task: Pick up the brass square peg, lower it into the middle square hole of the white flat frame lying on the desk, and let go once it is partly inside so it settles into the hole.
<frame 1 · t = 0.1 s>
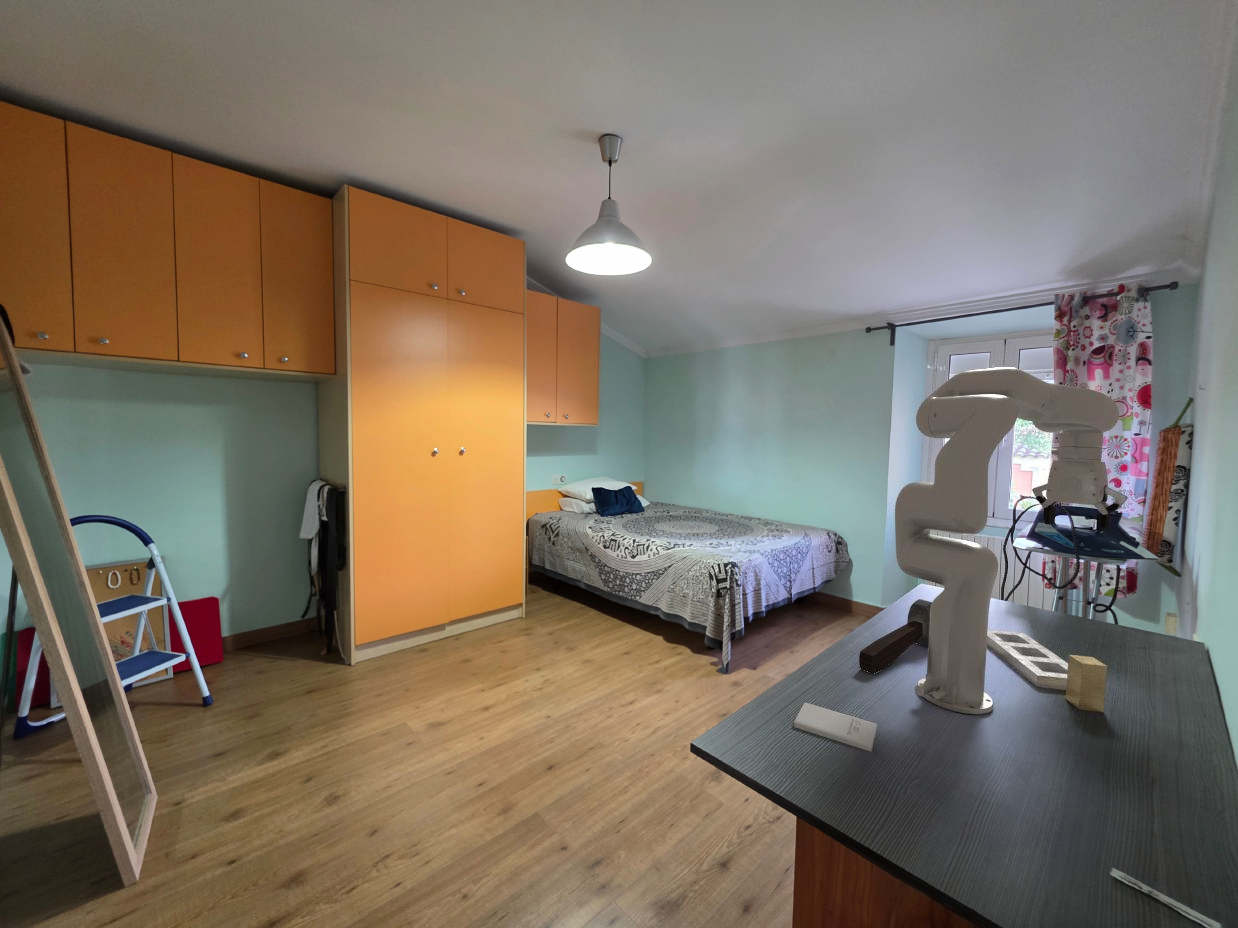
hand: (1074, 527, 119), 31 cm above the table, tool pointing down, fingers open, 9 cm apart
brass peg: (1084, 705, 98), on the table
hammer: (898, 658, 119), on the table
white flat frame: (1029, 662, 117), on the table
external hard drive: (835, 731, 89), on the table
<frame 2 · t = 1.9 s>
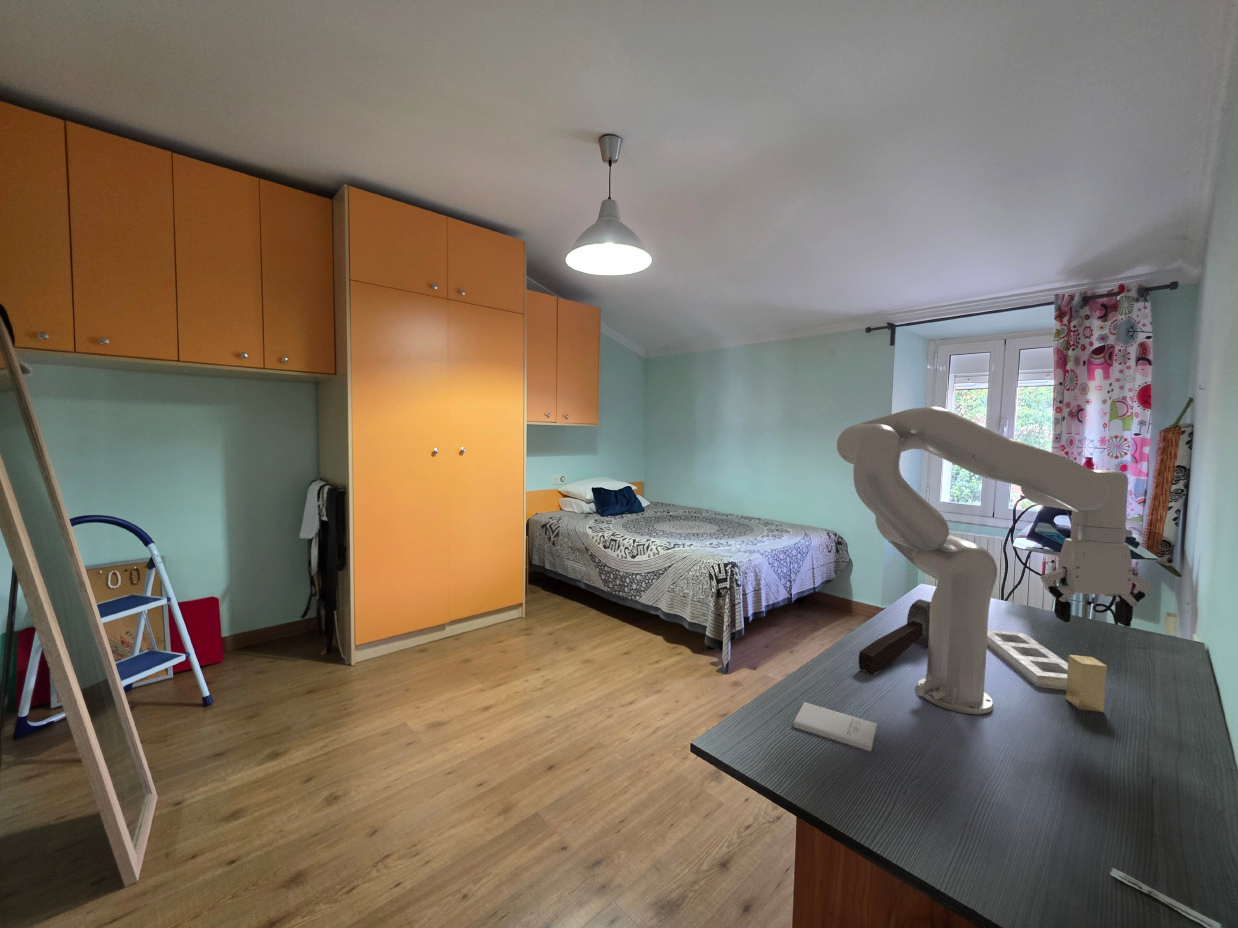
hand: (1092, 621, 97), 17 cm above the table, tool pointing down, fingers open, 9 cm apart
nothing on the table moved.
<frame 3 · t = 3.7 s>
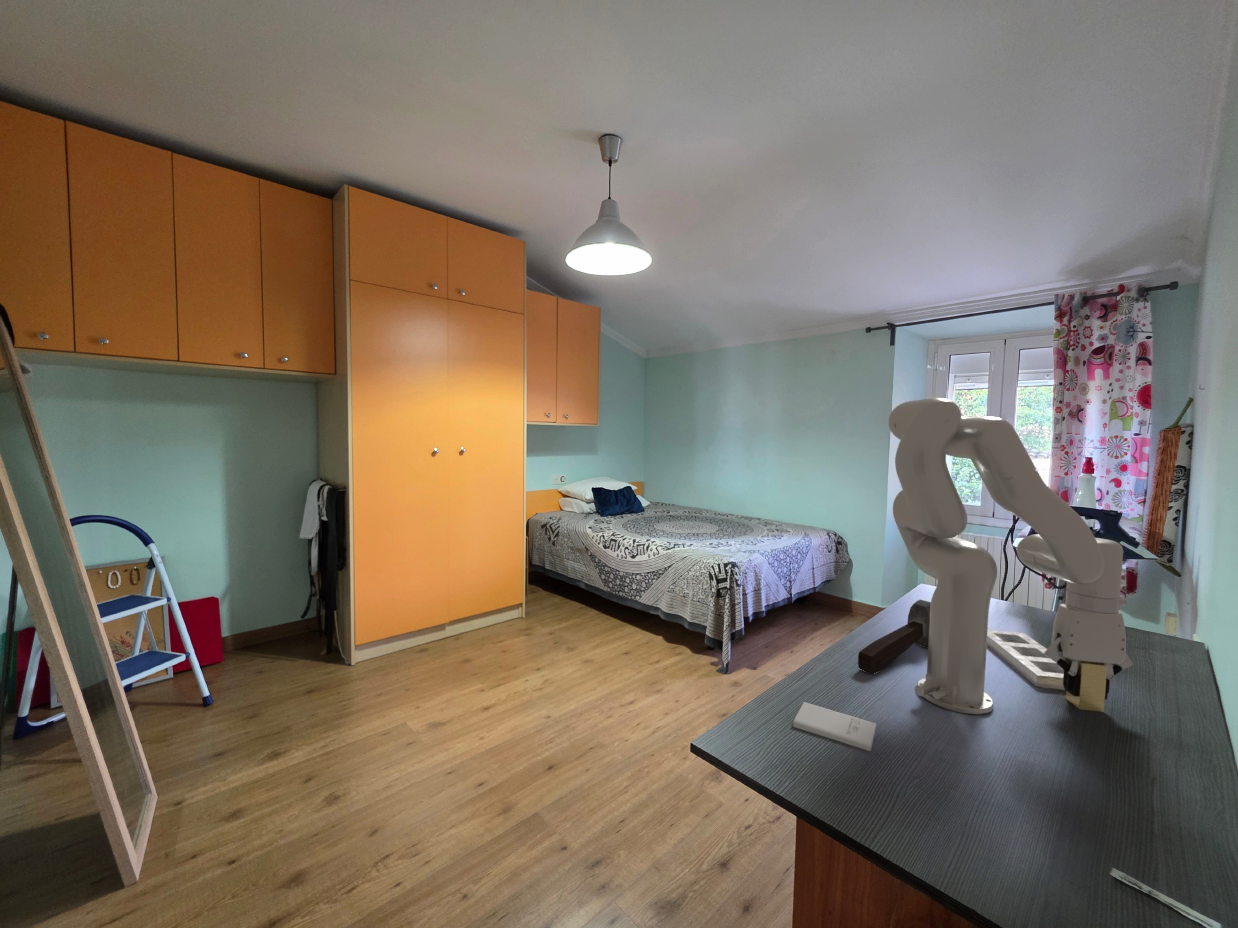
hand: (1085, 693, 98), 2 cm above the table, tool pointing down, fingers closed on brass peg, 4 cm apart
brass peg: (1084, 704, 98), on the table, touching gripper
everything else where it was.
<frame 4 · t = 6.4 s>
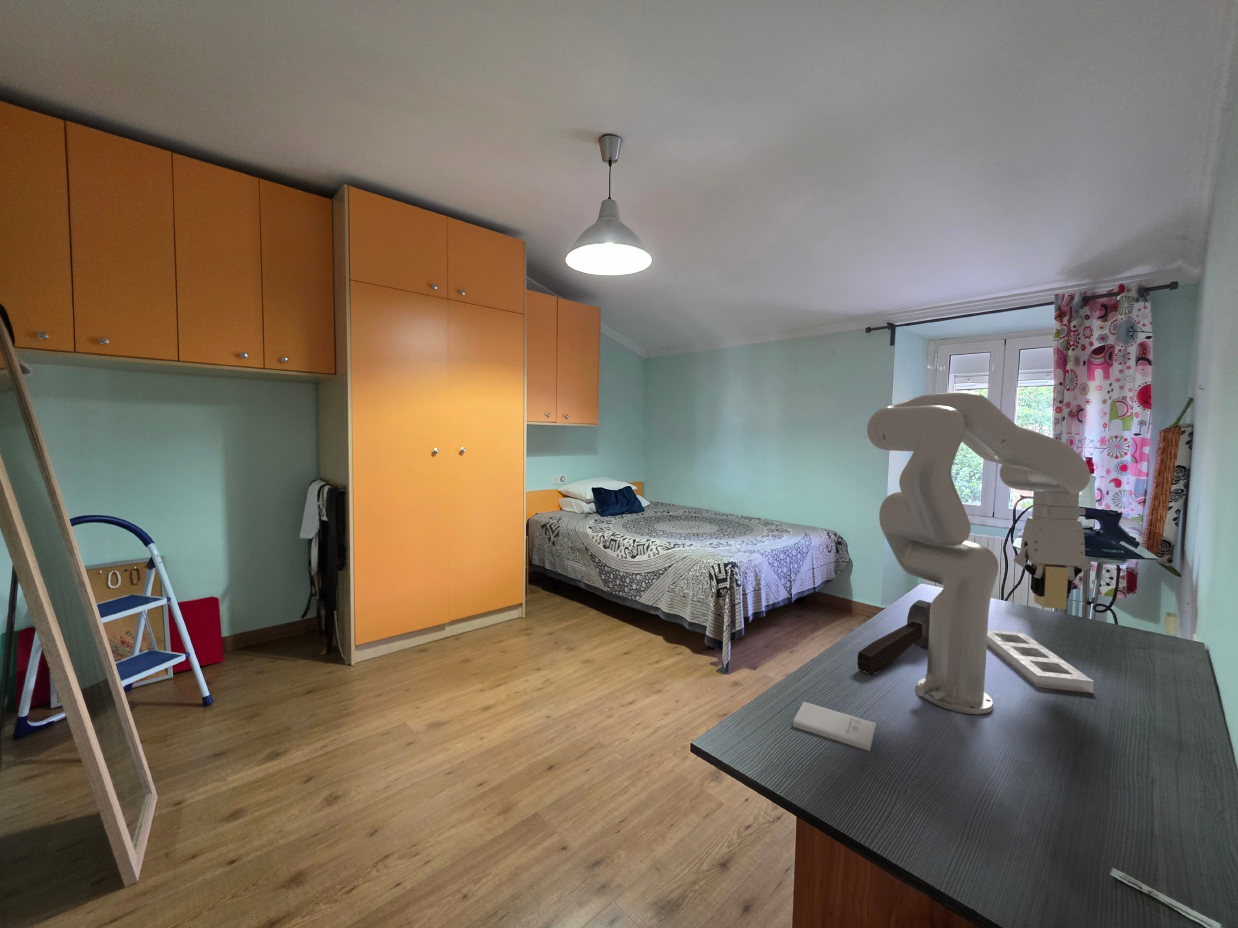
hand: (1050, 594, 111), 18 cm above the table, tool pointing down, fingers closed on brass peg, 4 cm apart
brass peg: (1049, 605, 111), point 15 cm above the table, touching gripper
everything else where it was.
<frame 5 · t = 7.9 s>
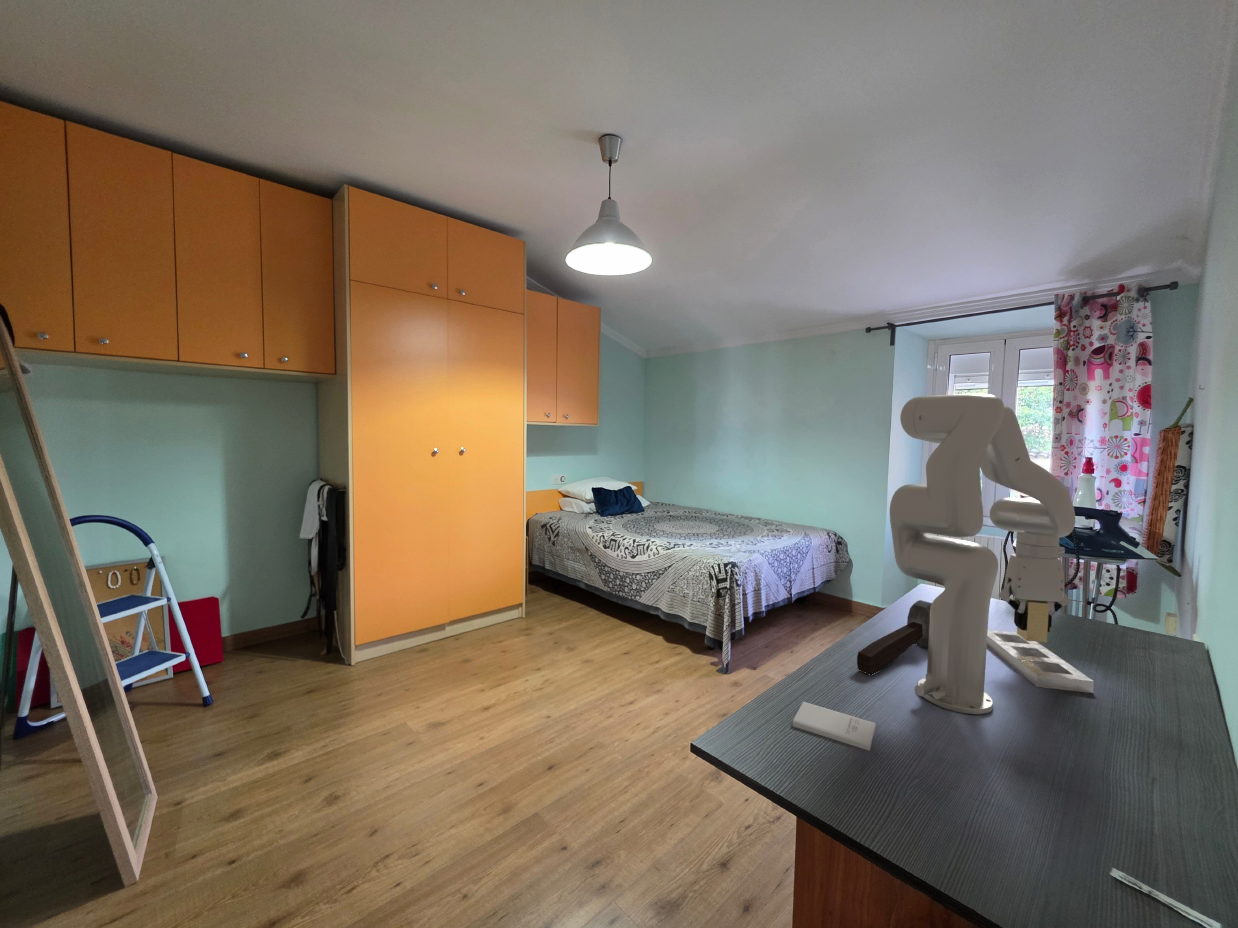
hand: (1032, 628, 117), 8 cm above the table, tool pointing down, fingers closed on brass peg, 4 cm apart
brass peg: (1031, 637, 117), point 6 cm above the table, touching gripper
everything else where it was.
when the fingers open (3 cm above the table, at t = 9.1 s): brass peg stays where it is, resting in white flat frame.
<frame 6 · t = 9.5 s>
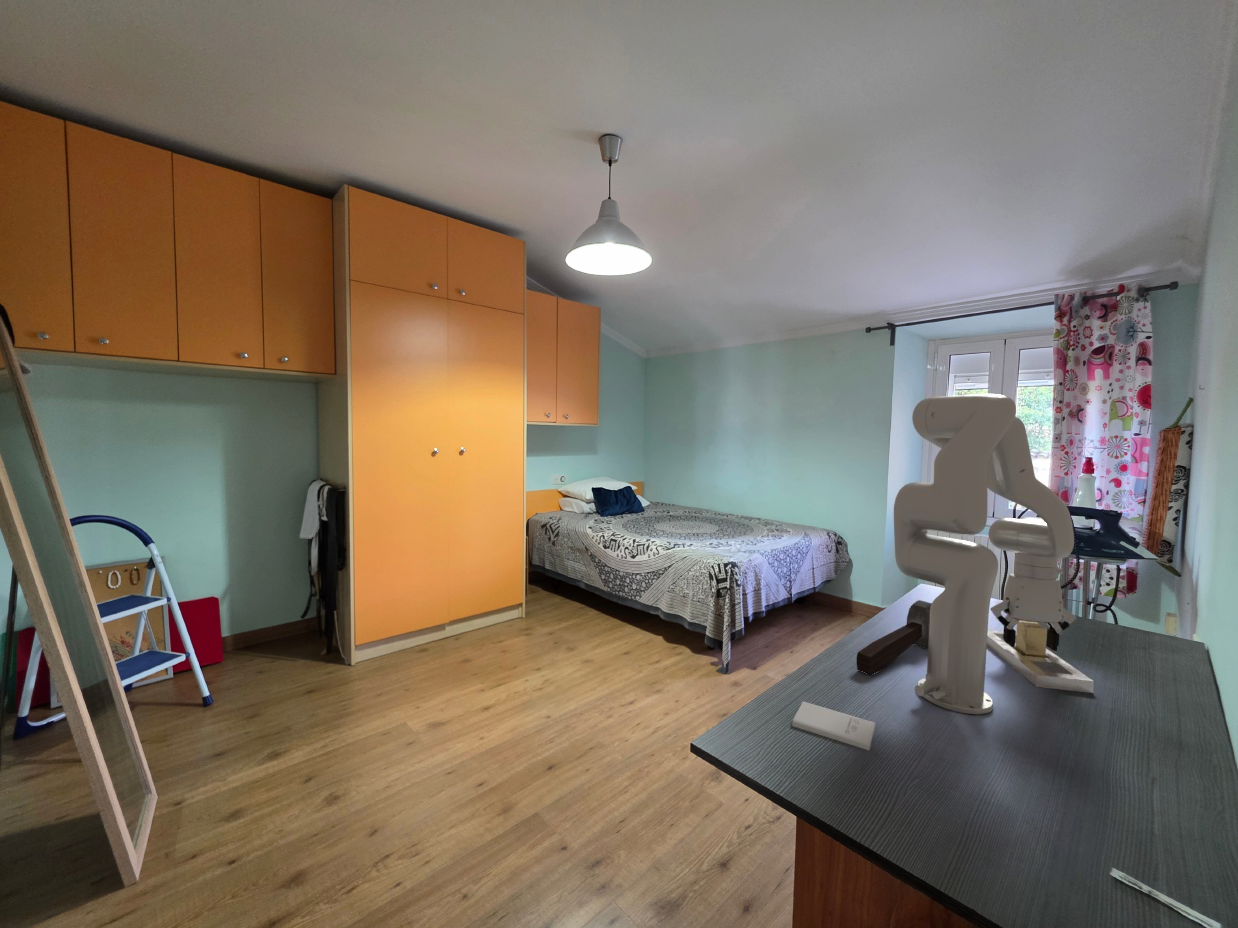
hand: (1030, 645, 117), 4 cm above the table, tool pointing down, fingers open, 7 cm apart
brass peg: (1029, 662, 117), resting in white flat frame
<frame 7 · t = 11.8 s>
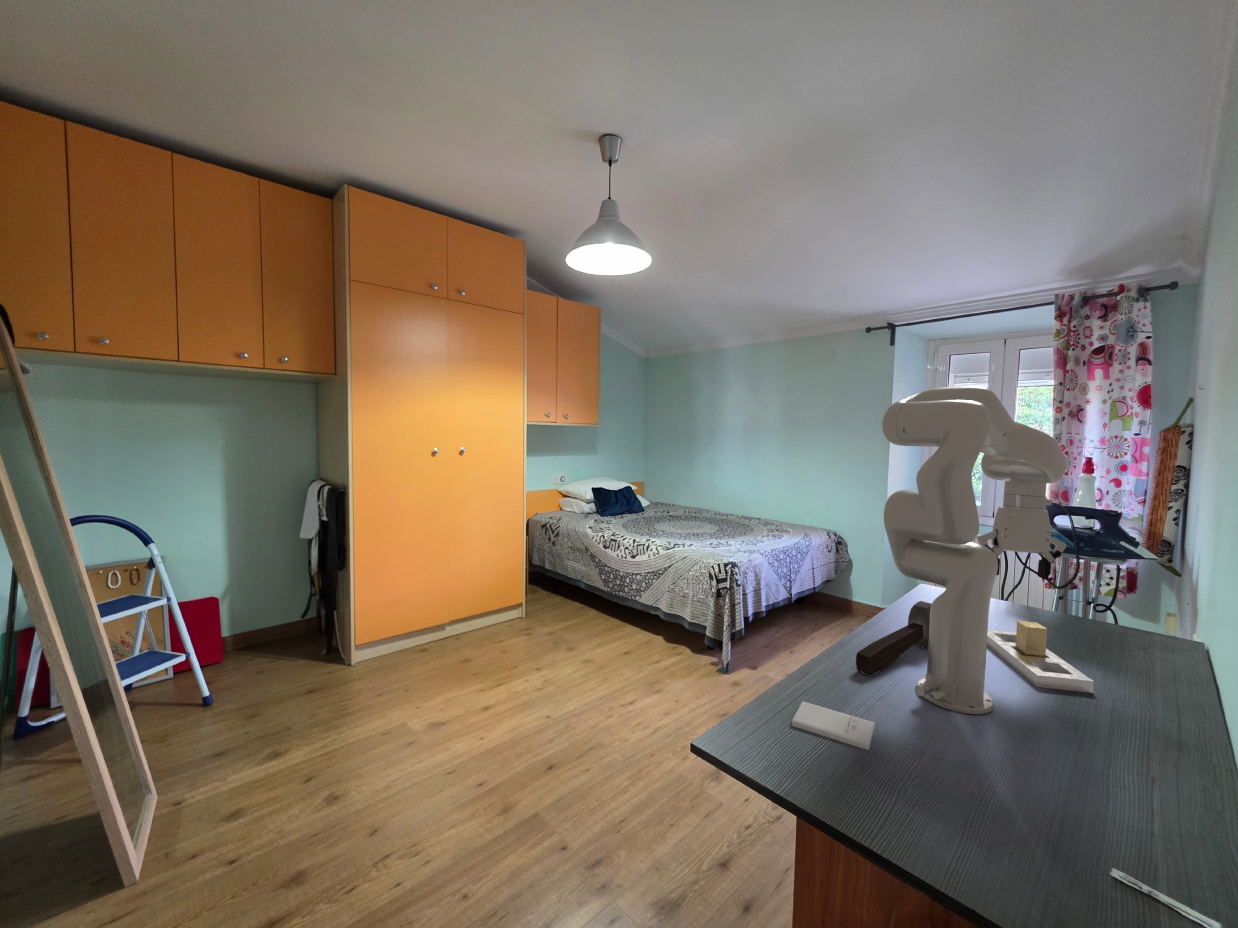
hand: (1018, 575, 117), 20 cm above the table, tool pointing down, fingers open, 9 cm apart
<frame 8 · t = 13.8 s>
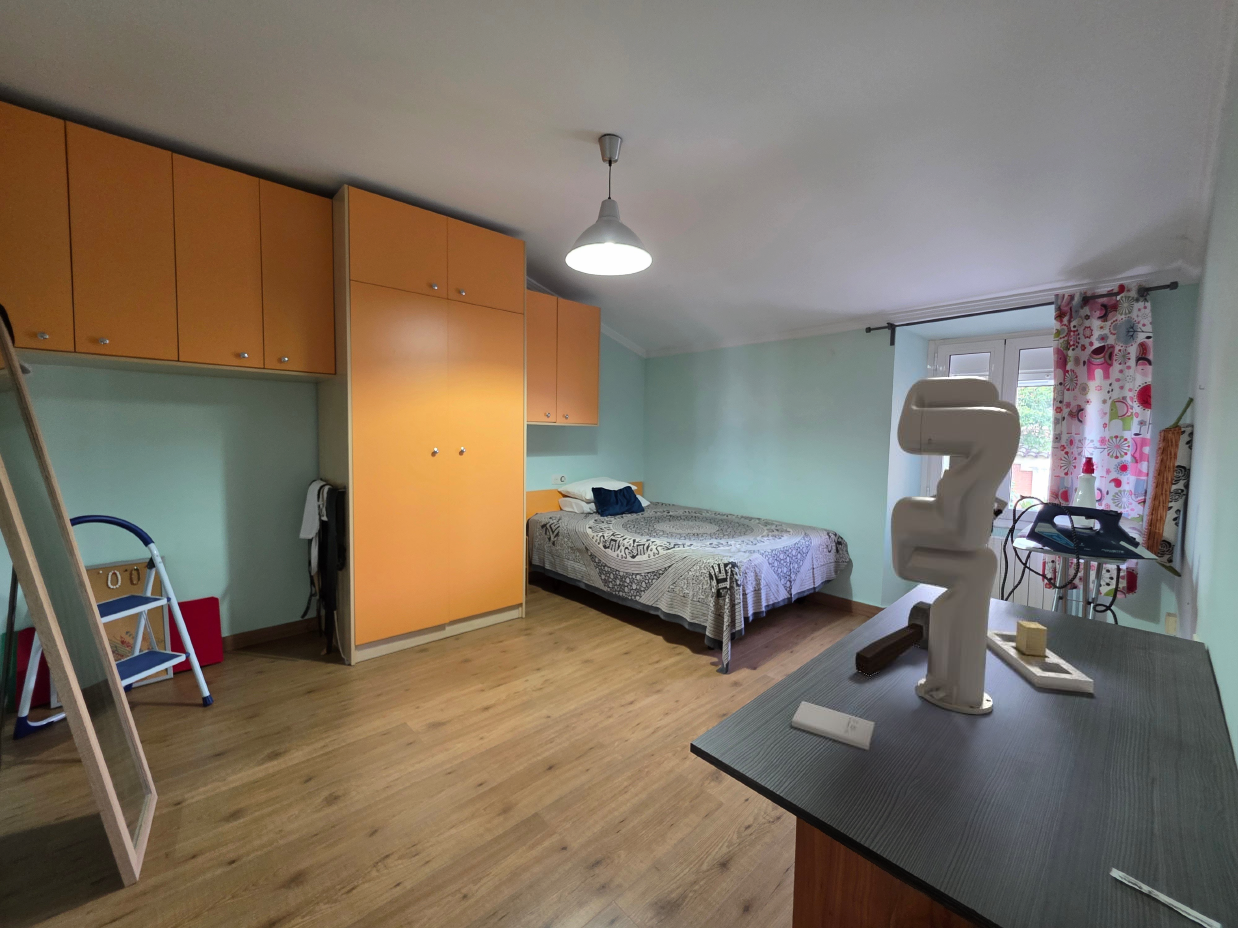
hand: (963, 534, 123), 28 cm above the table, tool pointing down, fingers open, 9 cm apart
at the end: brass peg 0.1 cm off-centre on the white flat frame, point 0.0 cm above the white flat frame's base; brass peg tilted 0°; the gripper is holding nothing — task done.
